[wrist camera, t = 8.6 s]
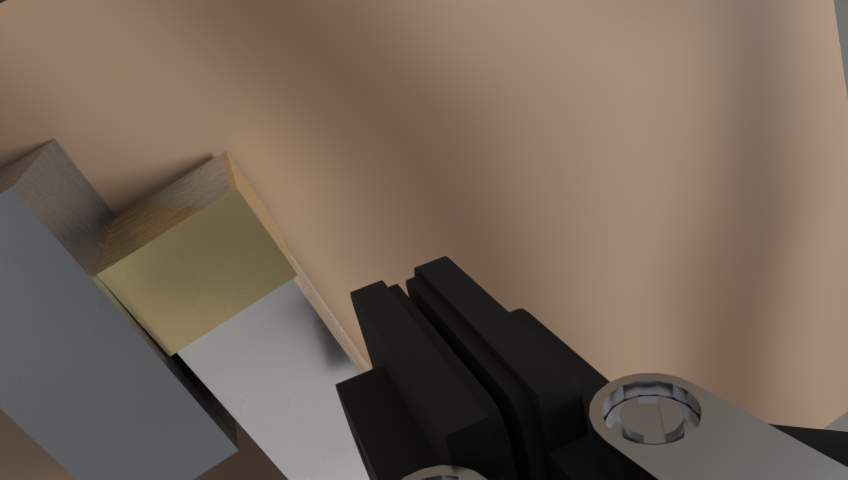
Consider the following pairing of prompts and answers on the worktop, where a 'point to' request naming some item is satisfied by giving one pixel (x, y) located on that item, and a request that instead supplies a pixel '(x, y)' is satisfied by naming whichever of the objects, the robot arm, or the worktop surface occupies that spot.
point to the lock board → (490, 165)
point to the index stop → (89, 342)
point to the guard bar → (239, 316)
